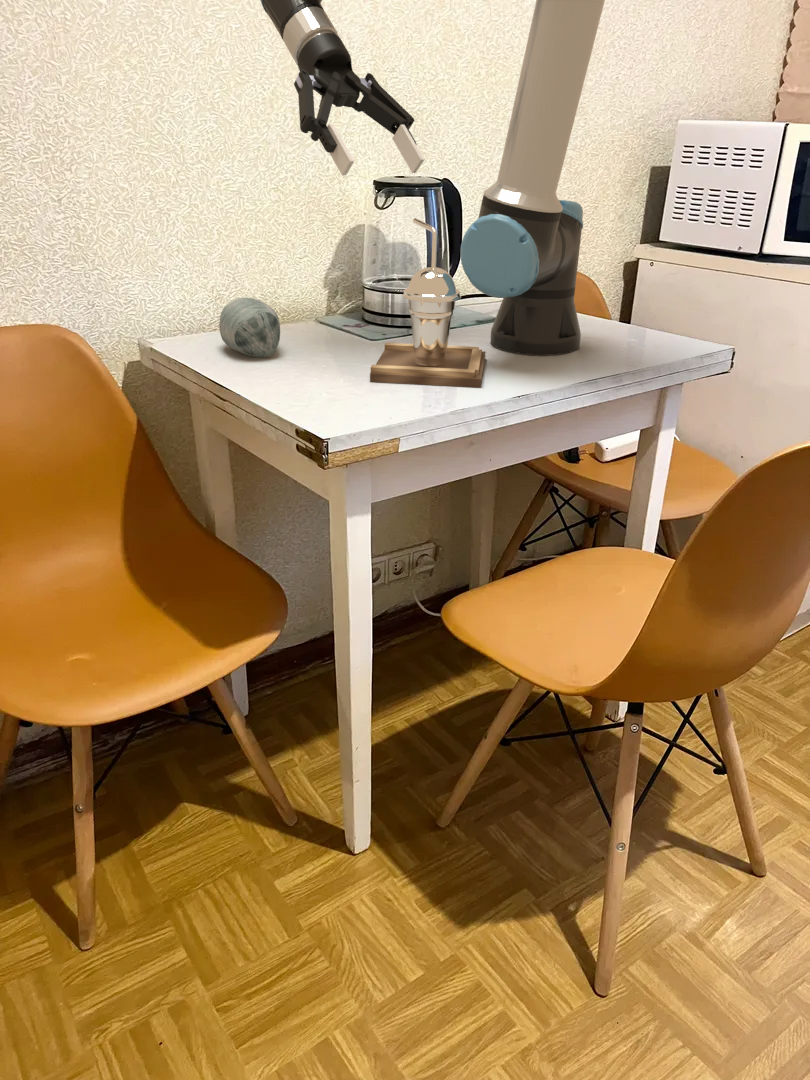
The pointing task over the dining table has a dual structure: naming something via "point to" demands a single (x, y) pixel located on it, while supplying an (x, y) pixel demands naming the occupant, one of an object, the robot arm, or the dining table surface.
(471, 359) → the brown flat square tray
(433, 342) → the cup with straw
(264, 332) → the spool
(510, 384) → the dining table surface
